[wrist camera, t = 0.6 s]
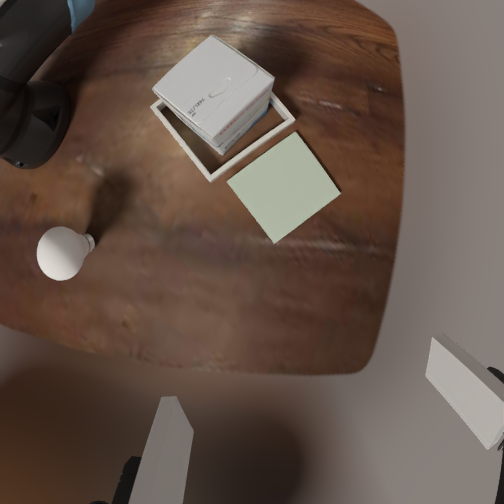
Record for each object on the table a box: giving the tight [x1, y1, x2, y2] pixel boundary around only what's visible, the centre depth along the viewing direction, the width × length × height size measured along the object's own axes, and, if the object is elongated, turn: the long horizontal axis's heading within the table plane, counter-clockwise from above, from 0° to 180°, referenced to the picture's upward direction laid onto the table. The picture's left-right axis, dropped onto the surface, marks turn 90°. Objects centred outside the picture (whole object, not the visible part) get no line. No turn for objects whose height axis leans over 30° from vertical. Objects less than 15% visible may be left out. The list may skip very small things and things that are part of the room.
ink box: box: [152, 35, 275, 156], centre depth 27 cm, size 9×8×12 cm
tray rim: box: [150, 91, 295, 183], centre depth 31 cm, size 13×13×2 cm
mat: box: [226, 132, 340, 244], centre depth 34 cm, size 10×11×1 cm
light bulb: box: [37, 227, 95, 280], centre depth 30 cm, size 7×7×11 cm
